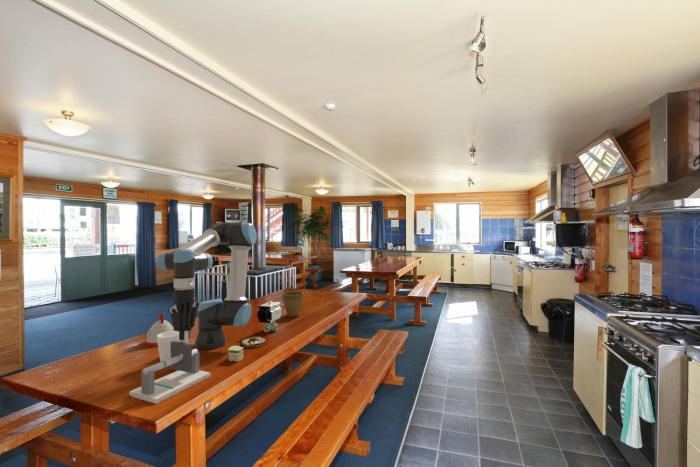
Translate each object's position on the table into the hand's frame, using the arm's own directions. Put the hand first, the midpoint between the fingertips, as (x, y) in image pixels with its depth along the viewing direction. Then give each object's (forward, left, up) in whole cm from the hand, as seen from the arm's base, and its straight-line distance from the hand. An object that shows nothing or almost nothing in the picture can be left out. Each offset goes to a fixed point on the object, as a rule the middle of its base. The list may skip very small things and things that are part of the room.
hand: (184, 347), depth 135 cm
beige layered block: (+3, +25, -14) cm, 29 cm away
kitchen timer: (-51, +29, -13) cm, 60 cm away
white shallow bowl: (-3, +46, -14) cm, 48 cm away
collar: (0, -1, -9) cm, 9 cm away
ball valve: (-9, +69, -13) cm, 70 cm away
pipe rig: (0, -5, -13) cm, 14 cm away
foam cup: (-21, +10, -13) cm, 27 cm away
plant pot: (-17, +105, -13) cm, 107 cm away
